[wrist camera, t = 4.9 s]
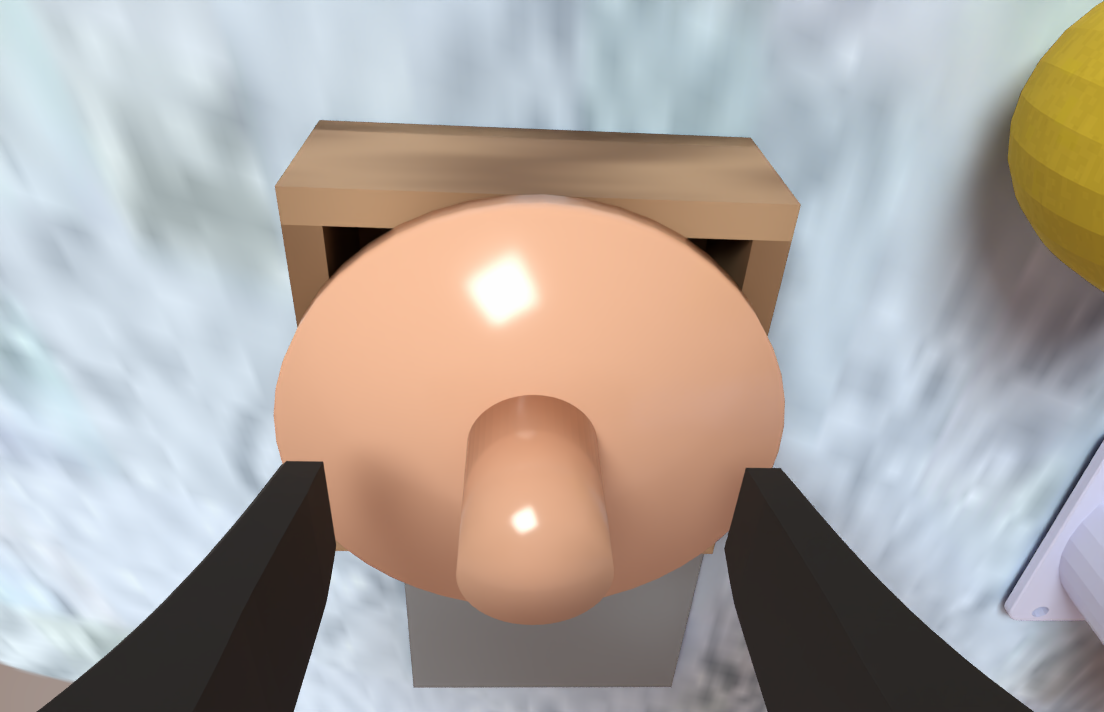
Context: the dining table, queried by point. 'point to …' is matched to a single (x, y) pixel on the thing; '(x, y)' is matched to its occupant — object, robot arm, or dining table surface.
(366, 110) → the dining table surface
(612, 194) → the wooden open tray
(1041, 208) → the lemon
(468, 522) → the lid
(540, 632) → the mat
